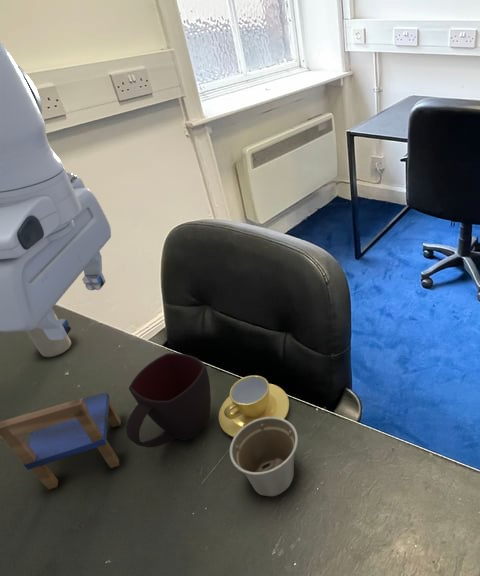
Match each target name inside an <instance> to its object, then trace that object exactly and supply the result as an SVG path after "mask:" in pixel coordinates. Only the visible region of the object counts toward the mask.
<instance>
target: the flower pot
mask: <svg viewBox="0 0 480 576" xmlns="http://www.w3.org/2000/svg"><path fill="white" fill-rule="evenodd" d="M298 442H299V437H298V432H297V430H296V427H295V426H294V425H293V424H292V423H291V422H290V421H288V419H287V420H286V418H285V419H282V418H278V417H264V418H259V419H256V420H254V421H252V422H250V423H248V424H247V425H245V426H244V427H243V428H242V429H240V431H239V432H238V433H237V434H236V435H235V437H232V441H231V442H230V445H229V457H230V460H231V463H232V465H233V466H234V468H236V469H237V471H240V473H243V474H244V476H246V478H247V480H248V481H249V483H250V484H251V486H252V488H253V490H254V491H255V492H256V493H258V495H261V496H266V497H276V496H279V495H280V494H282V493H283V492H285V491H286V490H287V489H288V488H289V487H290V485H291V484H292V482H293V479H294V475H295V472H294V471H295V470H294V469H295V467H294V466H295V465H294V464H295V462H294V461H295V460H294V459H295V453H296V451H297V448H298ZM265 466H266V467H265Z"/></svg>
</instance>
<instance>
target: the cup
mask: <svg viewBox="0 0 480 576" xmlns="http://www.w3.org/2000/svg"><path fill="white" fill-rule="evenodd" d="M289 409H290V400H289V397H288V394H287V393H286V392H285V390H284V389H282V388H281V387H280V386H278V385H276V384H272V383H269V381H268V380H267V378H265V377H263V376H261V375H256V374H255V375H247V376H244V377H242V378H240V379H238V380H237V381H236V382H234V383H233V385H232V386H231V388H230V390H229V396H228V397H227V398H226V399H225V400H224V402H223V403H222V405H221V407H220V408H219V412H218V424H219V426H220V428H221V429H222V431H223V432H224V433H225V434H226V435H228V436H231V438H234V437H235V435H236V434H237V433H238V432H239V431H240V429H242V428H243V427H244V426H245V425H247V424H248V423H250V422H252V421H254V420H256V419H259V418H264V417H278V418H282V419H285V420H286V417H287V416H288V413H289Z"/></svg>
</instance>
